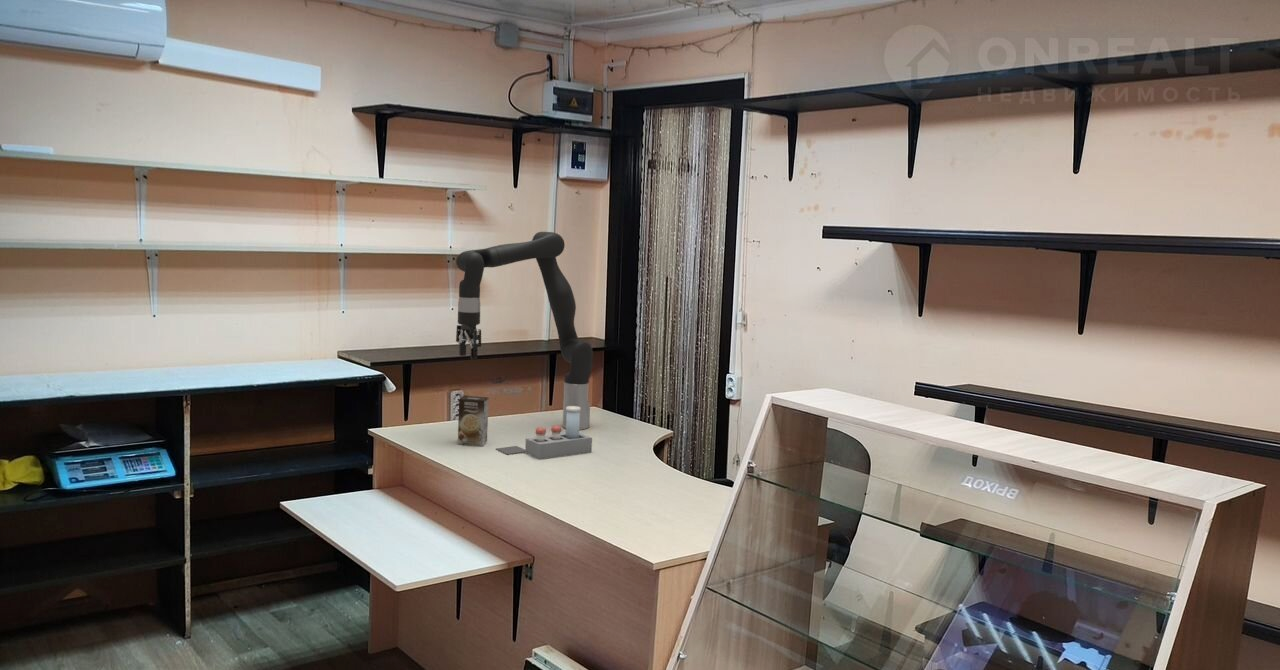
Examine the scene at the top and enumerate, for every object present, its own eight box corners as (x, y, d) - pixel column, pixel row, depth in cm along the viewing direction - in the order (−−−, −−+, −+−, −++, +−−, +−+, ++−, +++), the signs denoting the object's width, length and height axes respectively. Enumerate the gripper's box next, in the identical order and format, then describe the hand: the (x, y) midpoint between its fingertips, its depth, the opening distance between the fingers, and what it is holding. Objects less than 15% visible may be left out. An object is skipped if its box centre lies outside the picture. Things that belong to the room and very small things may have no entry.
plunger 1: (542, 443, 308) (542, 426, 307) (547, 445, 305) (547, 429, 305) (533, 444, 306) (533, 427, 305) (538, 446, 303) (539, 430, 302)
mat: (516, 446, 315) (516, 445, 315) (528, 452, 309) (528, 451, 309) (495, 449, 311) (495, 448, 310) (507, 455, 304) (507, 453, 304)
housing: (576, 446, 320) (577, 432, 319) (591, 452, 313) (592, 437, 312) (525, 453, 308) (525, 438, 307) (539, 459, 301) (539, 444, 300)
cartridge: (573, 448, 317) (575, 405, 315) (581, 451, 313) (583, 408, 311) (562, 450, 314) (563, 406, 312) (569, 453, 310) (571, 409, 308)
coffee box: (456, 444, 315) (457, 398, 313) (462, 440, 321) (463, 395, 319) (483, 446, 314) (484, 400, 312) (488, 442, 320) (489, 396, 318)
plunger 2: (557, 441, 312) (558, 425, 311) (562, 443, 309) (563, 427, 308) (548, 442, 309) (549, 426, 309) (554, 444, 307) (554, 428, 306)
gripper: (488, 312, 312) (487, 359, 314) (469, 307, 323) (468, 353, 326) (468, 312, 308) (467, 361, 310) (449, 308, 319) (449, 354, 321)
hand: (468, 357), depth 318 cm, fingers open, 8 cm apart
